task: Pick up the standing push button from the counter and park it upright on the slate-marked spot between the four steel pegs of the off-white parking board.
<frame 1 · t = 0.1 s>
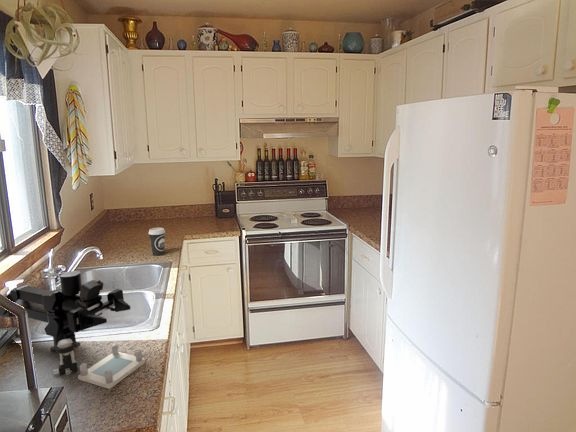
hand: (118, 314, 118), 17 cm above the worktop, tool horizontal, fingers open, 9 cm apart
parking board: (113, 370, 118), on the worktop
coffee cup: (158, 254, 230), on the worktop
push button: (66, 373, 117), on the worktop
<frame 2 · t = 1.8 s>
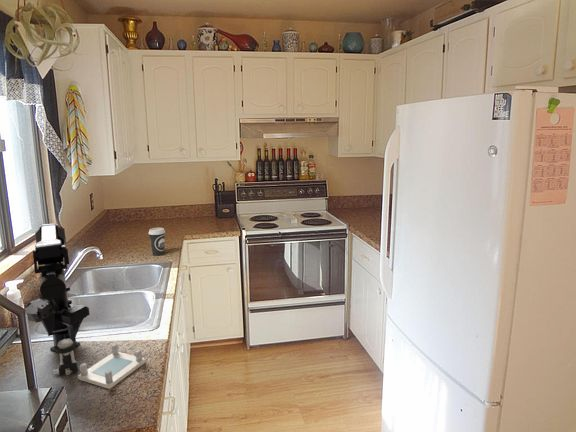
hand: (61, 336, 115), 12 cm above the worktop, tool pointing down, fingers open, 9 cm apart
nothing on the worktop moved.
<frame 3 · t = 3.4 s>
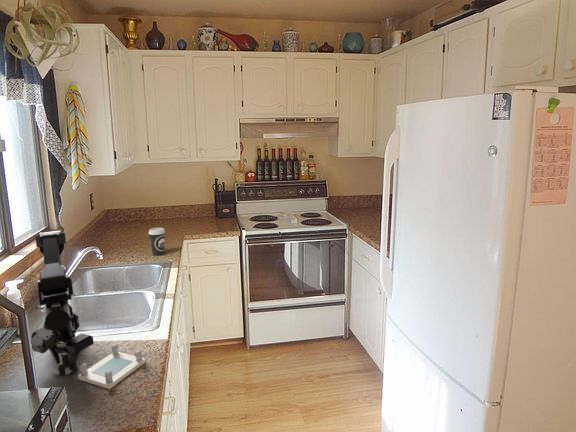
hand: (66, 364, 117), 3 cm above the worktop, tool pointing down, fingers closed on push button, 5 cm apart
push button: (66, 373, 117), on the worktop, touching gripper
everything else where it was.
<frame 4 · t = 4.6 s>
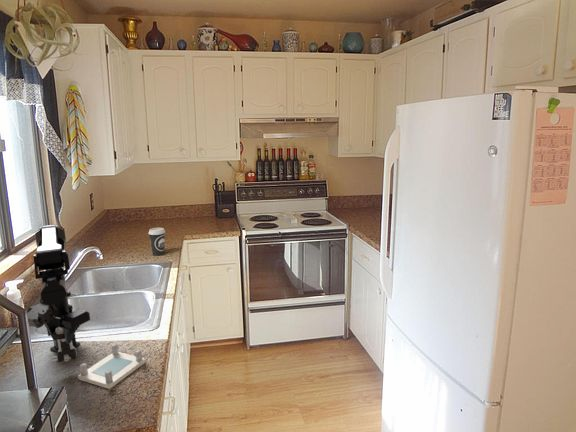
hand: (62, 341, 115), 10 cm above the worktop, tool pointing down, fingers closed on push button, 5 cm apart
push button: (65, 360, 117), point 4 cm above the worktop, touching gripper
everything else where it was.
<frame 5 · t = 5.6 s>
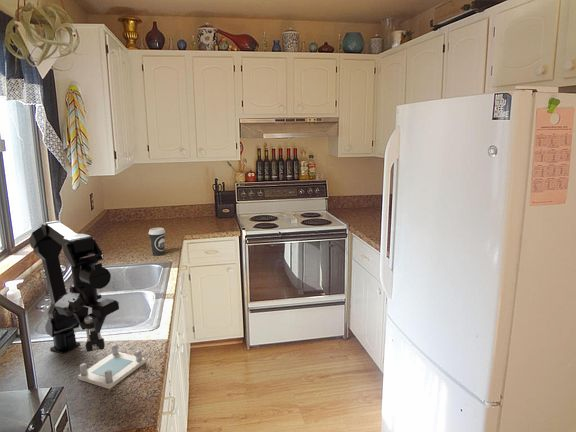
hand: (91, 331, 115), 13 cm above the worktop, tool pointing down, fingers closed on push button, 5 cm apart
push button: (93, 350, 116), point 7 cm above the worktop, touching gripper
everything else where it was.
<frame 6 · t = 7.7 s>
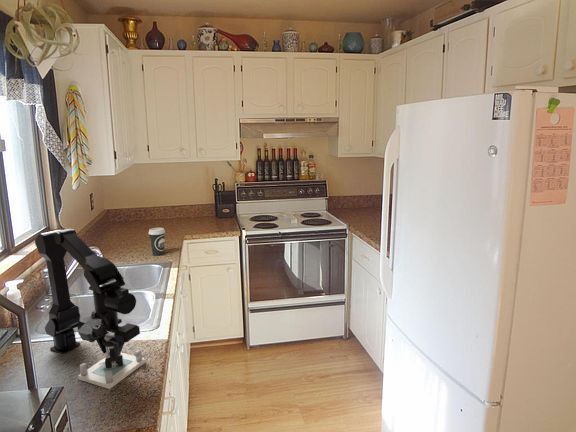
hand: (111, 354, 117), 5 cm above the worktop, tool pointing down, fingers closed on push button, 5 cm apart
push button: (112, 366, 118), point 1 cm above the worktop, touching gripper, parking board
everything else where it was.
when the fingers open (5 cm above the worktop, at t = 7.8 s): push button stays where it is, resting on parking board.
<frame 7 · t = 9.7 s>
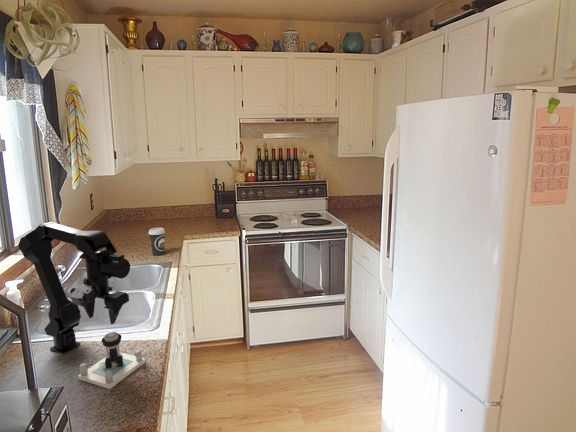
hand: (101, 320, 123), 13 cm above the worktop, tool pointing down, fingers open, 9 cm apart
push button: (112, 366, 118), point 1 cm above the worktop, touching parking board
everything else where it was.
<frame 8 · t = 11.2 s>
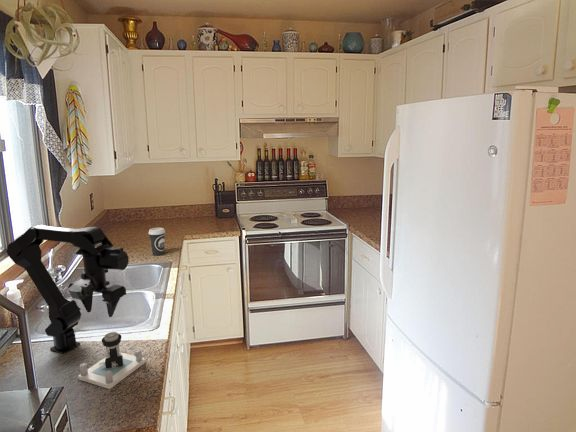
hand: (99, 314, 126), 13 cm above the worktop, tool pointing down, fingers open, 9 cm apart
nothing on the worktop moved.
at the end: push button 0.4 cm off-centre on the parking board, point 1.1 cm above the parking board's base; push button tilted 0°; the gripper is holding nothing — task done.
